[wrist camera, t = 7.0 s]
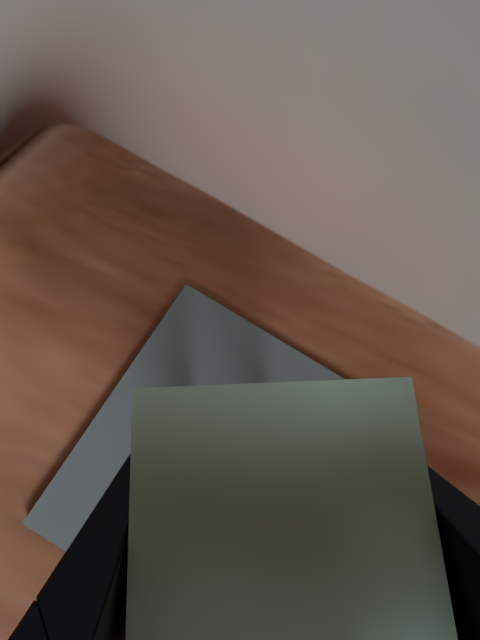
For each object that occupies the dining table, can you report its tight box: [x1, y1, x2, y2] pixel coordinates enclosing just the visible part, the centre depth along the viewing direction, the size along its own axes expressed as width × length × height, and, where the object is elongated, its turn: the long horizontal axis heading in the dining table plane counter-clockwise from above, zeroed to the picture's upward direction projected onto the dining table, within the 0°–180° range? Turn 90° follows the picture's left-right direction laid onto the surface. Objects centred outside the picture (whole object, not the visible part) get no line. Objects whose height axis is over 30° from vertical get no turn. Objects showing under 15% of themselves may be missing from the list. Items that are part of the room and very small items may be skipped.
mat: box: [22, 284, 345, 551], centre depth 19 cm, size 14×14×1 cm
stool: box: [126, 377, 458, 640], centre depth 12 cm, size 6×6×11 cm
